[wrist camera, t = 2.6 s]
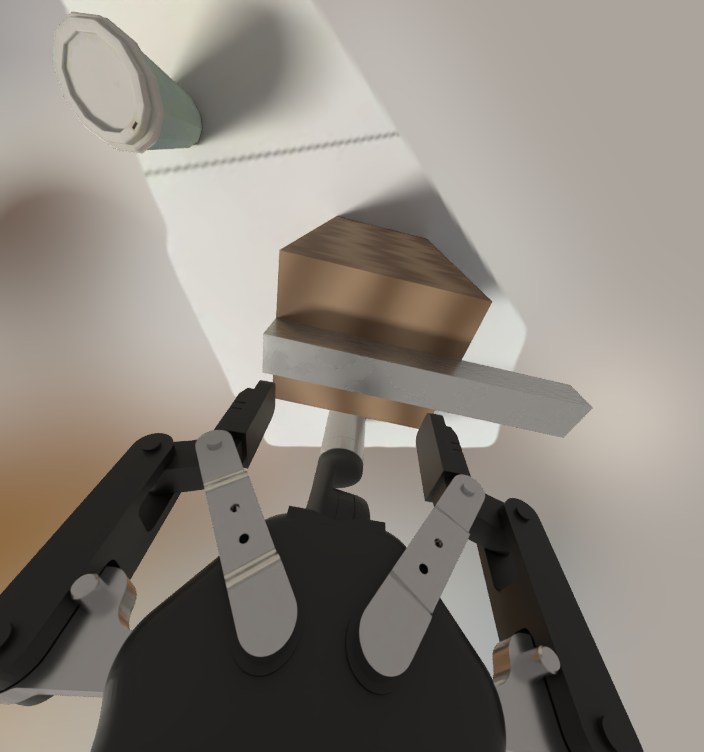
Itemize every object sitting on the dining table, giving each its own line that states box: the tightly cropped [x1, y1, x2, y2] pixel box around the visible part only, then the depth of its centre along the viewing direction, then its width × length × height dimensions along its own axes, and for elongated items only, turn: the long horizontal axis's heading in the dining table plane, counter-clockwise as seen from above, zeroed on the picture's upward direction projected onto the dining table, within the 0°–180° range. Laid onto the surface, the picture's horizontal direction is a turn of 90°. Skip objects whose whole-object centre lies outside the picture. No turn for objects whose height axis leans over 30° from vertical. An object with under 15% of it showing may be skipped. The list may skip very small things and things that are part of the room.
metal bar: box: [263, 318, 592, 438], centre depth 23 cm, size 26×4×3 cm, turn 78°
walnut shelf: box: [273, 216, 492, 429], centre depth 37 cm, size 16×14×32 cm
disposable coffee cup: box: [53, 12, 202, 153], centre depth 34 cm, size 11×11×15 cm
